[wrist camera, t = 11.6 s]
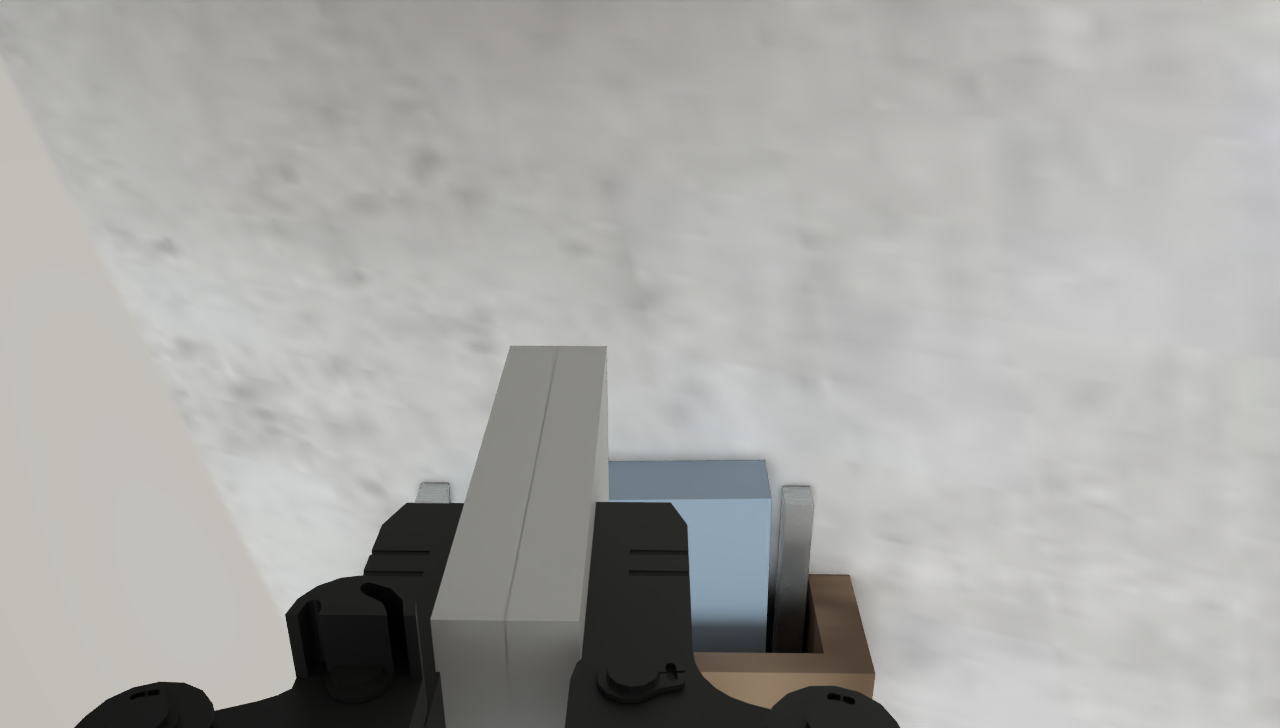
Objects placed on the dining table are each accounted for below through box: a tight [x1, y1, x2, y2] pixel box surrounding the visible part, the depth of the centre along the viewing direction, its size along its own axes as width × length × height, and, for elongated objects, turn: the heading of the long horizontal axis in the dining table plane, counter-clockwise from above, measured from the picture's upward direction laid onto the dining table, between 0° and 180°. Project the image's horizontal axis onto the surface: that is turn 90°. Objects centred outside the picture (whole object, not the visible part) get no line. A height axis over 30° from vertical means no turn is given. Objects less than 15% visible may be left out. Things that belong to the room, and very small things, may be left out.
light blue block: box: [608, 460, 772, 653], centre depth 41 cm, size 10×9×3 cm
